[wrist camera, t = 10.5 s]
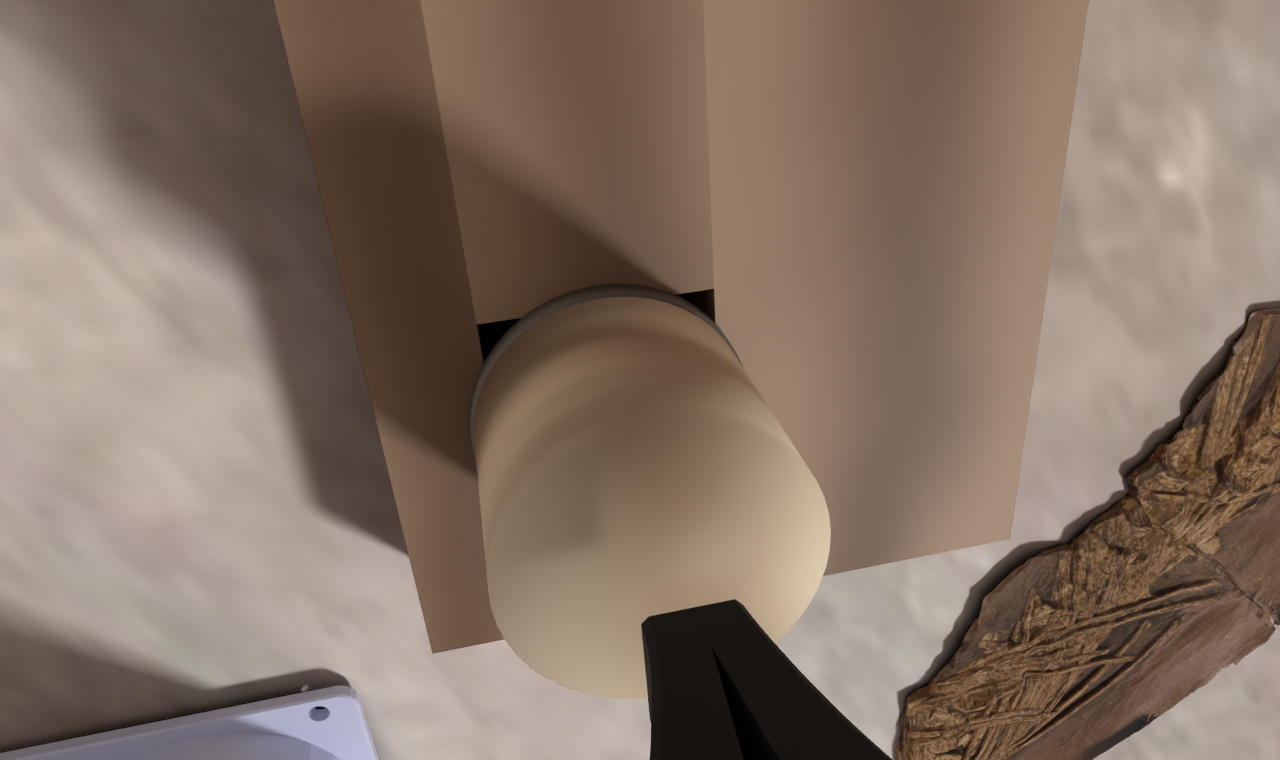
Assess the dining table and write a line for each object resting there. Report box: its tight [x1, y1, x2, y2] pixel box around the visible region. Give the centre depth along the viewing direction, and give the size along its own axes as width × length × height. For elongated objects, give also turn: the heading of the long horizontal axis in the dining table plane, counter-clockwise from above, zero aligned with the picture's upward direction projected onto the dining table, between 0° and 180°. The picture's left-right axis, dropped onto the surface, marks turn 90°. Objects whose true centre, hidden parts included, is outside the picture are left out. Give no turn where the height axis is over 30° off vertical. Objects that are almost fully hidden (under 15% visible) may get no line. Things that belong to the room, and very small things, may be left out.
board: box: [273, 0, 1089, 653], centre depth 19 cm, size 14×18×3 cm
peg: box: [470, 284, 831, 698], centre depth 18 cm, size 6×6×8 cm
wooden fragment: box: [895, 307, 1280, 760], centre depth 30 cm, size 26×11×1 cm, turn 144°
